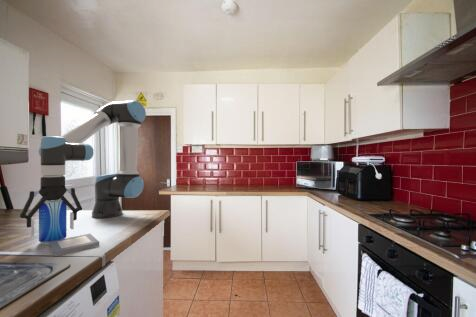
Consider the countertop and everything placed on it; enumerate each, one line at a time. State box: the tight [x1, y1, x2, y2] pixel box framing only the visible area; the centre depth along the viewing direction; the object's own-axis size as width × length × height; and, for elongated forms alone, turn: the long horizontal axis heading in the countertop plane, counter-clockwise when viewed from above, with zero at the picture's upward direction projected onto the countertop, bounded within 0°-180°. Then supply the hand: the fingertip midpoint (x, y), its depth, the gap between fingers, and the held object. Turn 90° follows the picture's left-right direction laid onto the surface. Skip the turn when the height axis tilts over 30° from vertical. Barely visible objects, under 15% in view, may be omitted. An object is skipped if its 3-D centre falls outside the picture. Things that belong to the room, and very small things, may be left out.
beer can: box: [38, 199, 68, 246], centre depth 90 cm, size 8×8×16 cm
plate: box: [49, 233, 100, 257], centre depth 85 cm, size 13×13×2 cm
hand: (52, 231), depth 90 cm, fingers open, 11 cm apart
